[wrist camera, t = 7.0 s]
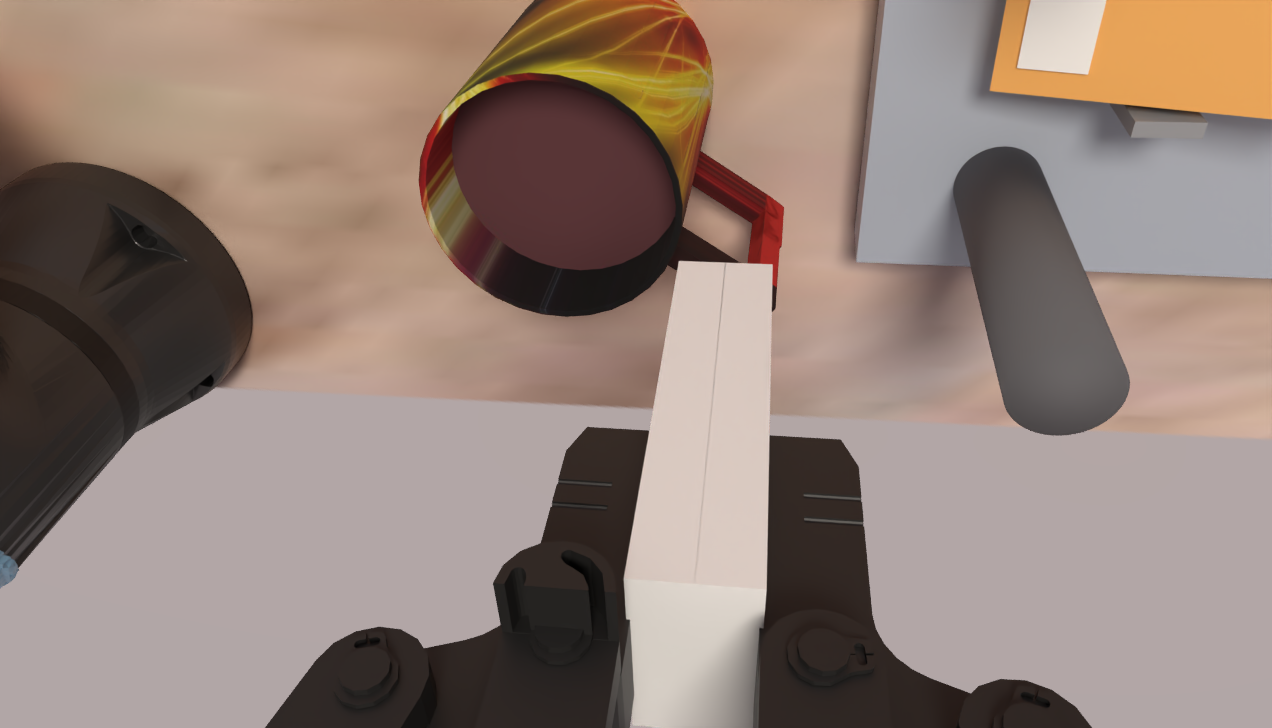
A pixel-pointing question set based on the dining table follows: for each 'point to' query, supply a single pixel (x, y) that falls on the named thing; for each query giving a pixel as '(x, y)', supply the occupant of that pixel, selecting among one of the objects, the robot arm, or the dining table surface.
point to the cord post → (1036, 298)
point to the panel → (1051, 158)
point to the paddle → (1140, 53)
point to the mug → (584, 159)
